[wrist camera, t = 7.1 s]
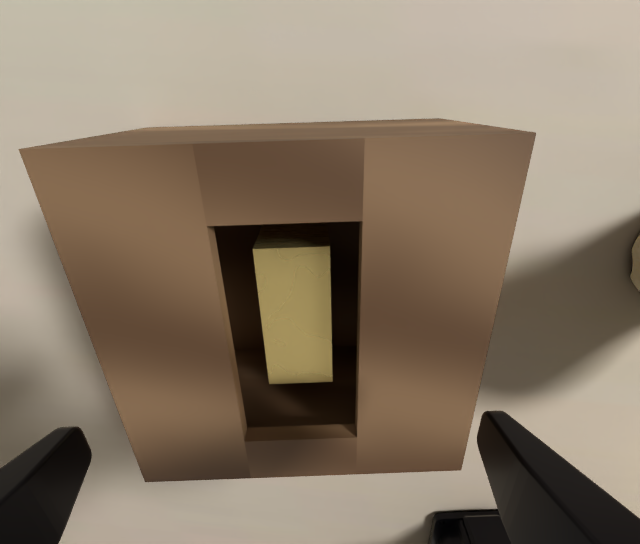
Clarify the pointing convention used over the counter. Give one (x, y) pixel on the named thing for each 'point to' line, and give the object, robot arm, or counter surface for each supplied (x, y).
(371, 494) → the counter surface
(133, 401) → the coin box
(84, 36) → the counter surface
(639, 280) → the flower pot
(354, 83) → the counter surface
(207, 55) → the counter surface
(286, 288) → the block
